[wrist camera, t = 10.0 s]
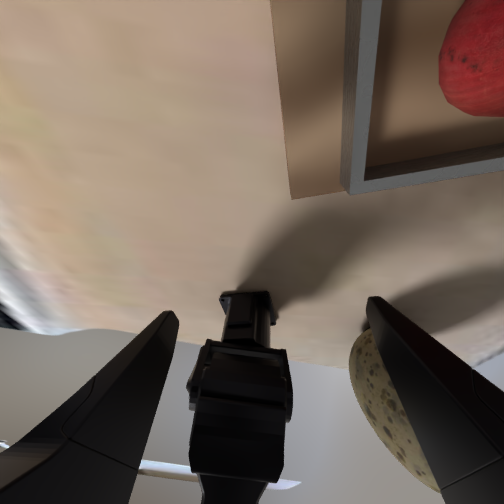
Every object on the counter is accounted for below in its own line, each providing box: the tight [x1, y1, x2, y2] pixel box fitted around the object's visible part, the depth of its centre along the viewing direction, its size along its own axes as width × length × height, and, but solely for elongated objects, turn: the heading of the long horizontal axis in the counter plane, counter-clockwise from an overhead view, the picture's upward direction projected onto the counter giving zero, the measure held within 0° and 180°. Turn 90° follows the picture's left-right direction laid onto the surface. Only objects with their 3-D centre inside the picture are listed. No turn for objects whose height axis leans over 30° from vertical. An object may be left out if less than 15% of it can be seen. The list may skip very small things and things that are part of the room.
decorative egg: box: [349, 328, 441, 493], centre depth 23 cm, size 11×11×15 cm
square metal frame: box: [340, 0, 504, 195], centre depth 10 cm, size 13×13×2 cm
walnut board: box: [270, 0, 504, 200], centre depth 12 cm, size 14×20×2 cm
